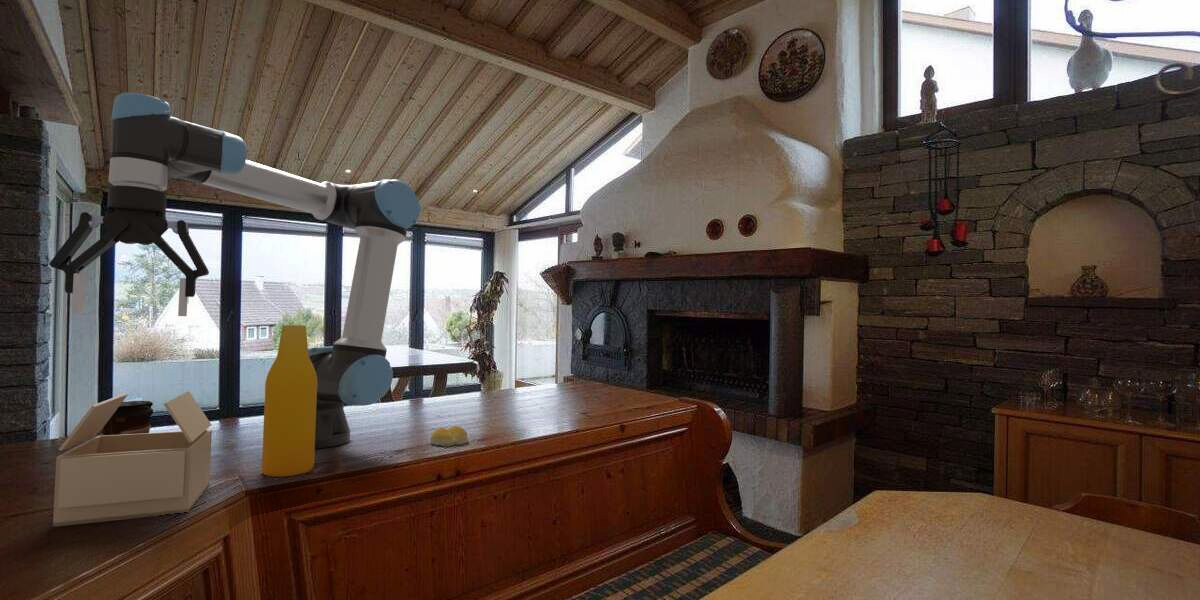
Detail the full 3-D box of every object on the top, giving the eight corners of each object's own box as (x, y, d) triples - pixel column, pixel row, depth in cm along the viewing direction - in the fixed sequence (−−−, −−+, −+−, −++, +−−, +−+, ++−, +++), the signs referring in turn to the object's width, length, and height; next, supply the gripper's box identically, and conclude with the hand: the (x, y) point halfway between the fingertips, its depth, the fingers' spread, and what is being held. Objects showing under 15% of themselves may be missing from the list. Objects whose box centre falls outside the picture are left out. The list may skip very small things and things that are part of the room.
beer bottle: (317, 463, 116) (322, 325, 117) (310, 475, 107) (316, 326, 108) (267, 466, 113) (273, 324, 114) (255, 479, 104) (262, 325, 105)
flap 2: (209, 426, 100) (211, 424, 100) (189, 442, 87) (192, 441, 87) (186, 392, 98) (188, 390, 98) (163, 404, 86) (166, 402, 86)
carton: (210, 484, 100) (212, 428, 101) (187, 514, 86) (190, 449, 86) (96, 494, 94) (99, 434, 94) (50, 528, 79) (54, 458, 79)
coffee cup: (163, 464, 112) (166, 400, 113) (124, 476, 104) (128, 407, 104) (124, 462, 113) (128, 399, 113) (83, 474, 105) (86, 405, 105)
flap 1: (128, 393, 95) (126, 392, 95) (95, 406, 82) (92, 405, 82) (99, 431, 93) (97, 430, 93) (61, 450, 80) (58, 449, 80)
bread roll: (426, 441, 139) (427, 425, 139) (462, 438, 143) (462, 423, 143) (434, 448, 131) (435, 432, 132) (471, 445, 136) (472, 428, 136)
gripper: (230, 201, 102) (224, 316, 101) (47, 183, 90) (40, 313, 89) (224, 194, 95) (219, 317, 94) (26, 173, 83) (18, 313, 83)
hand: (131, 315), depth 92 cm, fingers open, 13 cm apart
